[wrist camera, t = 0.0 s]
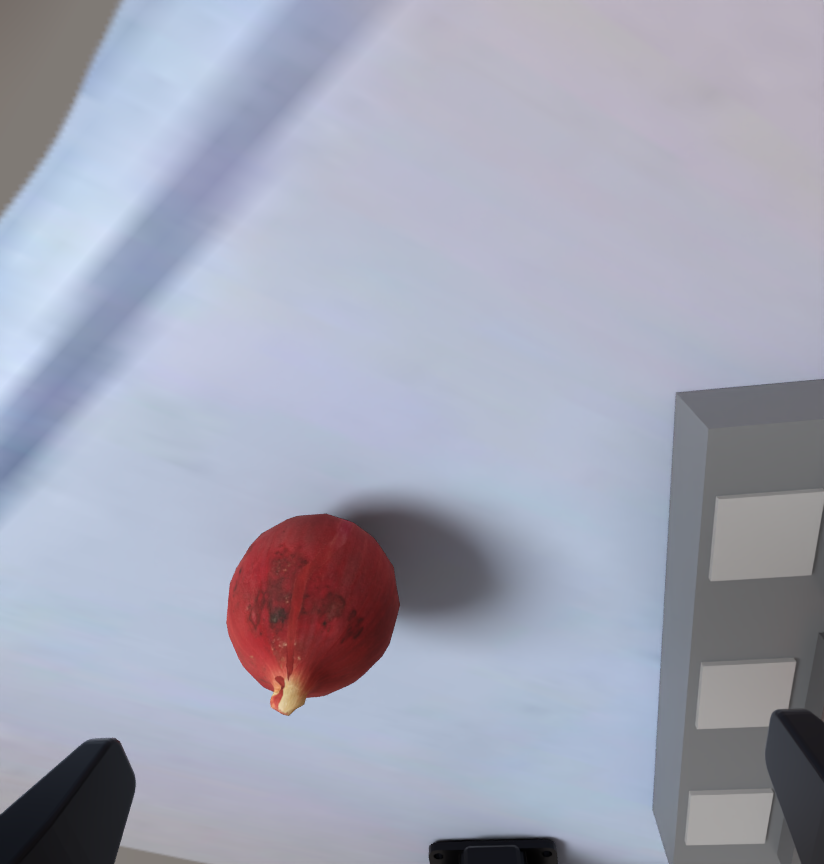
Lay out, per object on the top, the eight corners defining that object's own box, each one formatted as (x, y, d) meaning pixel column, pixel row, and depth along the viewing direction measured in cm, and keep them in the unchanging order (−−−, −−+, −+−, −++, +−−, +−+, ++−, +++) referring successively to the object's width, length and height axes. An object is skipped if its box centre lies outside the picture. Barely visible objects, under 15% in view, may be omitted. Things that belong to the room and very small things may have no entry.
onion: (243, 484, 24) (156, 631, 17) (391, 467, 24) (365, 613, 16) (280, 603, 27) (217, 777, 19) (415, 591, 26) (402, 766, 19)
